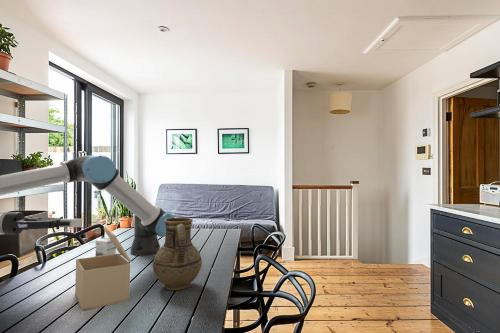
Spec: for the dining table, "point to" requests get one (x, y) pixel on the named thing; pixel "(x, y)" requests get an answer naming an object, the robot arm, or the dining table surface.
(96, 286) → the carton
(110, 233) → the lid flap
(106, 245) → the syrup box
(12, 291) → the dining table surface
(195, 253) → the decorative pitcher
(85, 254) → the dining table surface
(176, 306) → the dining table surface
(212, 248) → the dining table surface
